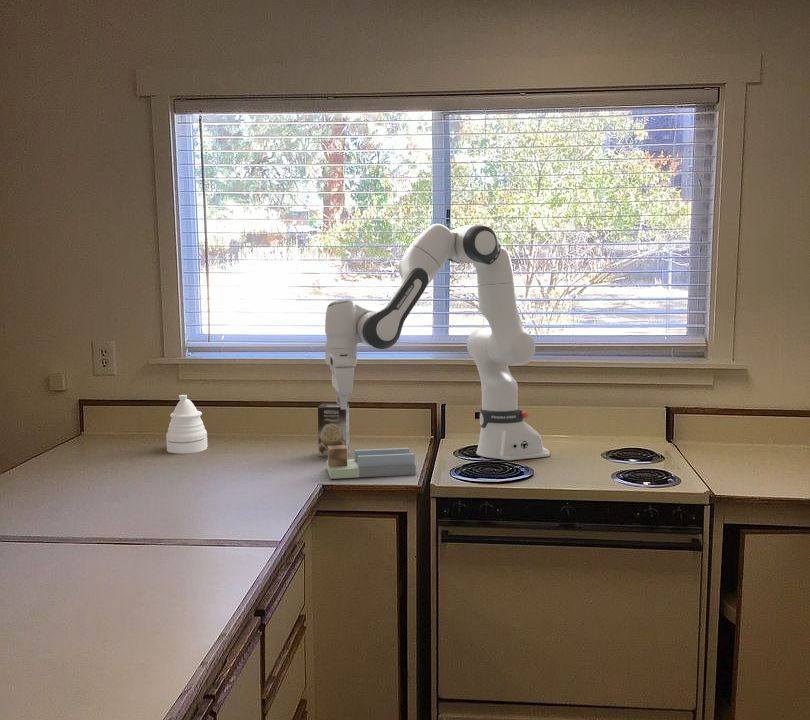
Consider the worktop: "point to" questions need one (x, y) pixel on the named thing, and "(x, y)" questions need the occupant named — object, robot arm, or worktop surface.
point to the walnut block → (337, 455)
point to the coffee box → (332, 427)
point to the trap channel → (376, 464)
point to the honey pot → (186, 429)
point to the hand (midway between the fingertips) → (341, 406)
